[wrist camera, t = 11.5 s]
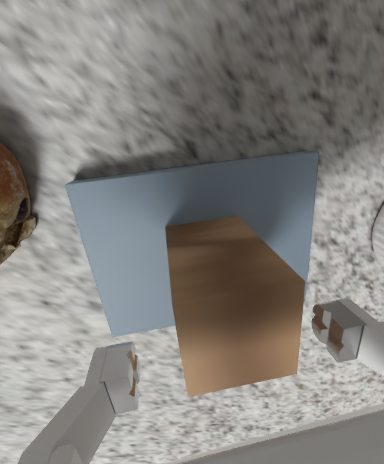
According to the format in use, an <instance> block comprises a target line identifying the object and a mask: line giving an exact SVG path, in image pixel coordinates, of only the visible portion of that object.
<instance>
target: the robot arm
mask: <svg viewBox="0 0 384 464" xmlns="http://www.w3.org/2000/svg"><path fill="white" fill-rule="evenodd" d="M313 313H314V314H315V316H314V318H313V319H312V329H313V332H314V334H315V336H316V337H317V338H318V340H319V341H321V342H323V343H324V344H326V345H327V350H328V352H329V353H330V354H331V355H332V356H333V357H334V359H335V360H336V361H337V362H343V361H348V360H353V359H357V360H358V361H359V362H361V363H363V364H364V365H366V366H368V367H369V368H371V369H373V370H374V371H376V372H378V373H379V374H381V375H383V376H384V322H378V321H377V320H375V319H374V318H373V317H372V316H370V315H369V314H368V313H367V312H365V311H364V310H363V309H362V308H360V307H359V306H358V305H357V304H355V303H354V302H353V301H352V300H350V299H348V298H344V299H339V300H336V301H330V302H325V303H321V304H316V305H315V306H314V307H313ZM139 381H140V368H139V360H138V356H137V355H135V345H134V342H128V343H122V344H116V345H111V346H107V347H101V348H96V349H95V351H94V353H93V356H92V360H91V363H90V367H89V371H88V374H87V378H86V381H85V385H84V386H83V387H80V388H79V389H78V390H77V391H76V393H75V394H74V395H73V396H72V397H71V398H70V399H69V401H68V402H67V403H66V404H65V405H64V406H63V407H62V409H61V410H60V411H59V412H58V413H57V414H56V415H55V417H54V418H53V419H52V420H51V421H50V422H49V423H48V425H47V426H46V427H45V428H44V429H43V430H42V431H41V433H40V434H39V435H38V436H37V437H36V438H35V439H34V441H33V442H32V443H31V444H30V445H29V446H28V447H27V449H26V450H25V451H24V452H23V453H22V455H21V457H20V460H19V462H18V464H89V463H90V461H91V459H92V458H93V456H94V454H95V452H96V450H97V449H98V447H99V445H100V443H101V442H102V440H103V438H104V436H105V434H106V433H107V431H108V429H109V427H110V426H111V424H112V422H113V420H114V418H115V417H116V416H115V415H117V414H121V413H124V412H128V411H132V410H136V409H138V399H139V390H138V386H137V384H138V382H139ZM177 464H384V409H383V410H380V411H376V412H372V413H368V414H364V415H361V416H357V417H353V418H349V419H345V420H342V421H337V422H334V423H330V424H326V425H322V426H318V427H314V428H311V429H307V430H303V431H299V432H295V433H292V434H288V435H284V436H280V437H277V438H272V439H269V440H265V441H261V442H257V443H253V444H250V445H246V446H242V447H238V448H234V449H231V450H227V451H223V452H219V453H216V454H211V455H208V456H204V457H200V458H196V459H193V460H188V461H185V462H181V463H177Z"/></svg>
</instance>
